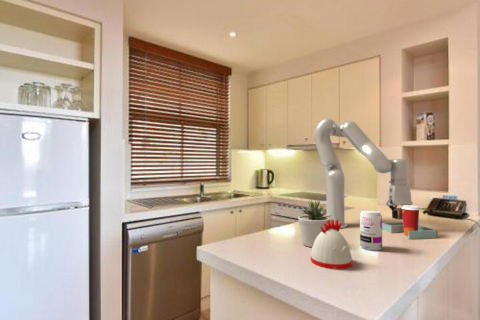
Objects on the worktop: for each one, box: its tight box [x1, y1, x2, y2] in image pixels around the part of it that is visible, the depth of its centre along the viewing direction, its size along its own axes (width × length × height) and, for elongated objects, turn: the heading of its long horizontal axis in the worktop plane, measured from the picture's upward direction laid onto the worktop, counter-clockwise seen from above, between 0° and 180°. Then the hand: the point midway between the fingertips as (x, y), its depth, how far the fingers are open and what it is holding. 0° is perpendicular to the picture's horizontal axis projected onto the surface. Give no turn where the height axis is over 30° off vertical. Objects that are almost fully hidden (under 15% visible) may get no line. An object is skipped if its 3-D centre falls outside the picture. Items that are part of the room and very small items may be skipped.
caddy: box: [382, 221, 439, 240], centre depth 138 cm, size 15×19×4 cm
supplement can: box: [359, 209, 383, 252], centre depth 114 cm, size 8×8×15 cm
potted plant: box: [297, 198, 332, 248], centre depth 119 cm, size 13×14×20 cm
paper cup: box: [401, 204, 421, 237], centre depth 135 cm, size 8×8×14 cm
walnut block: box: [394, 207, 403, 221], centre depth 144 cm, size 5×5×5 cm
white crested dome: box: [310, 220, 353, 270], centre depth 99 cm, size 14×14×15 cm
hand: (399, 217), depth 144 cm, fingers closed on walnut block, 5 cm apart
